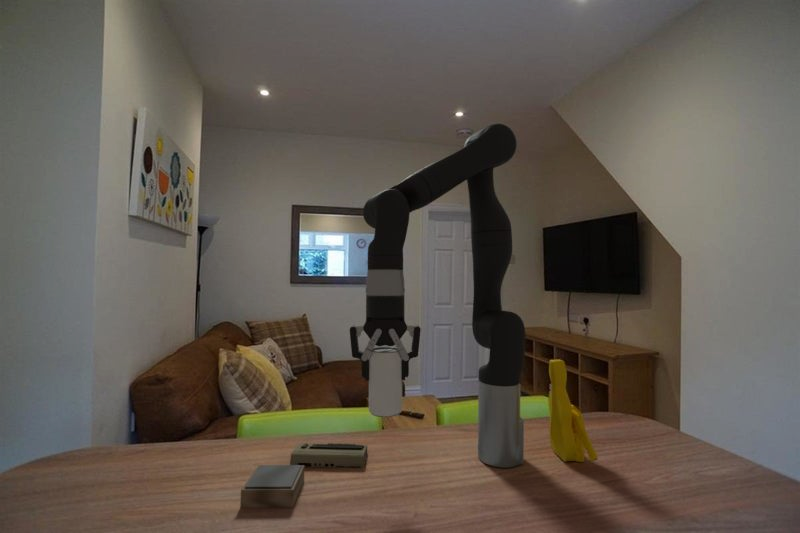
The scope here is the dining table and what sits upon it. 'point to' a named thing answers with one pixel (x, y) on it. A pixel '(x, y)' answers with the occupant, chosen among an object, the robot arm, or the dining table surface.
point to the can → (385, 382)
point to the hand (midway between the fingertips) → (385, 379)
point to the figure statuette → (566, 419)
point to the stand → (273, 486)
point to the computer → (329, 455)
